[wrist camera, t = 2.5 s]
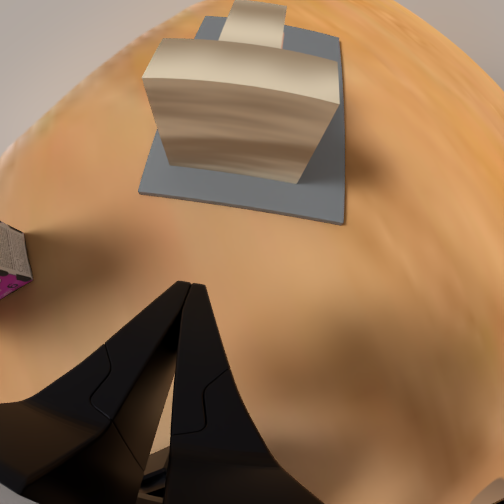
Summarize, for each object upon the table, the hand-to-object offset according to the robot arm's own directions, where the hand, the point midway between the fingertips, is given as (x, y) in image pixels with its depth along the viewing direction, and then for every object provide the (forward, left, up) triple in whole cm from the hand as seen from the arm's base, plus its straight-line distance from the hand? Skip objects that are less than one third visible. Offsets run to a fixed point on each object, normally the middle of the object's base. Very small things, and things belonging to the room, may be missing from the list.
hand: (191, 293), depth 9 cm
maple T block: (+11, -9, -12) cm, 19 cm away
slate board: (+14, -13, -12) cm, 23 cm away
